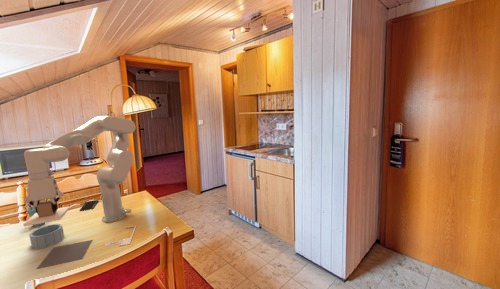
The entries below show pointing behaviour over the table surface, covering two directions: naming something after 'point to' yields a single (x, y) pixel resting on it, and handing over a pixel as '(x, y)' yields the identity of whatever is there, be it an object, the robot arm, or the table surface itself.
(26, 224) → the lid
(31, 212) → the cup
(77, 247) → the mat
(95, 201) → the phone
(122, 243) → the photo frame
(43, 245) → the bowl
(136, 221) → the table surface
